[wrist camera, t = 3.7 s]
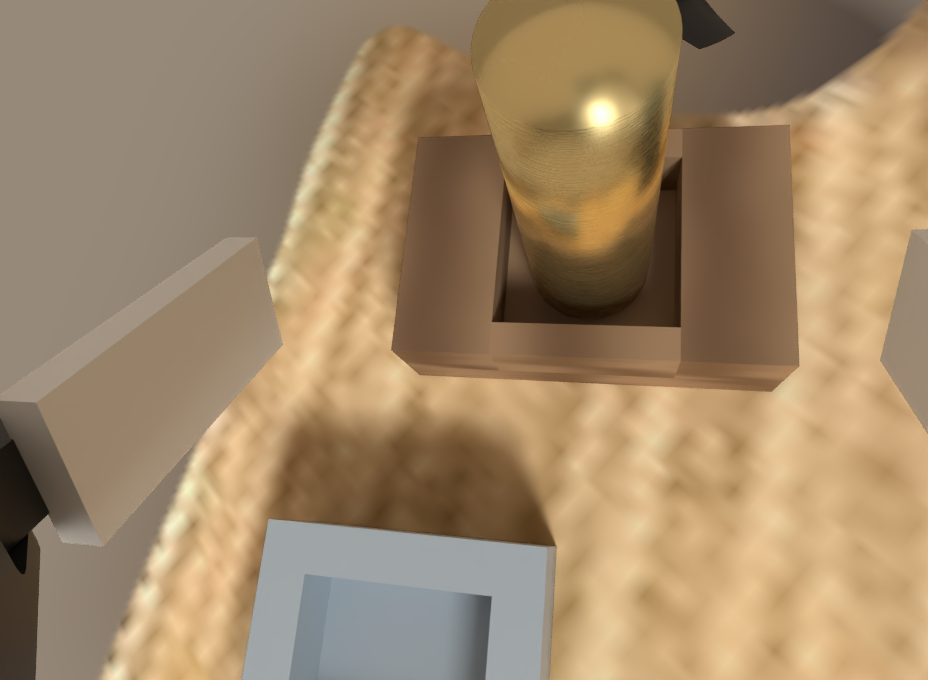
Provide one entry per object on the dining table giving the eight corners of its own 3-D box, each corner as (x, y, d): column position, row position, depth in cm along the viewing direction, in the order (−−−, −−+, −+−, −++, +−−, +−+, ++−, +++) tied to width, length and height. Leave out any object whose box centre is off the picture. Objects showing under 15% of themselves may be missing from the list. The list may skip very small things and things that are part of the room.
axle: (620, 196, 28) (628, -78, 15) (668, 292, 26) (720, 73, 14) (516, 239, 28) (443, 6, 16) (557, 337, 26) (513, 162, 14)
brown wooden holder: (765, 180, 28) (789, 125, 24) (771, 391, 26) (799, 365, 22) (441, 186, 31) (418, 137, 27) (419, 374, 29) (391, 349, 25)
